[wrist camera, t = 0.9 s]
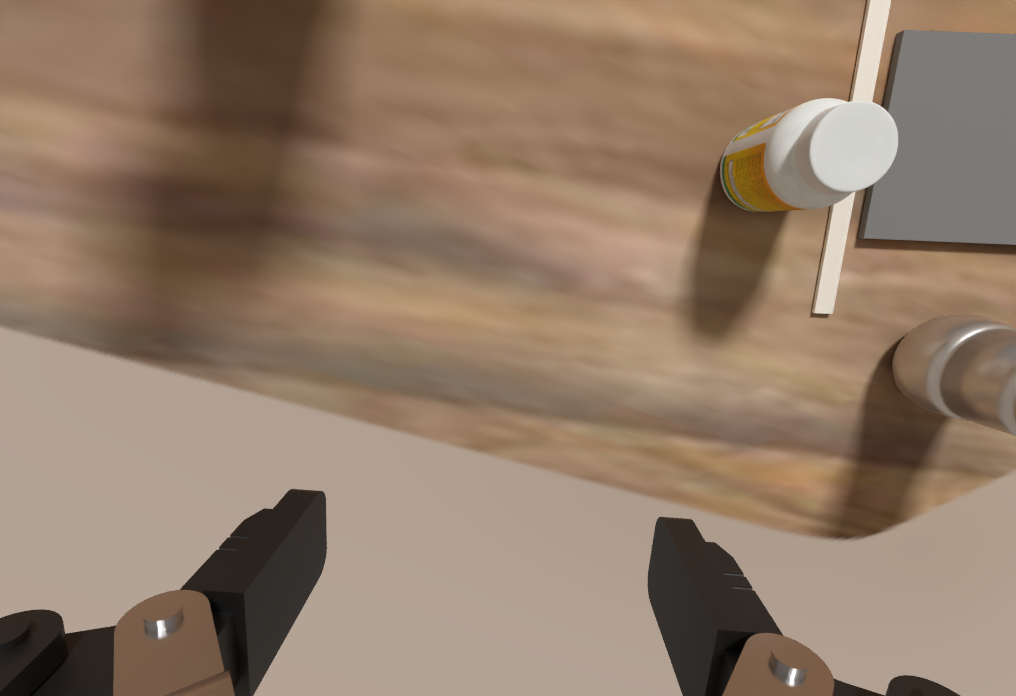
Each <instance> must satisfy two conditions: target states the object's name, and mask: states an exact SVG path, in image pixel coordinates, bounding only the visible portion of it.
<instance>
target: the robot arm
mask: <svg viewBox="0 0 1016 696" xmlns="http://www.w3.org/2000/svg"><path fill="white" fill-rule="evenodd" d="M326 545H327V541H326V497H325V494H324V492H323V491H312V490H297V489H291V490H289V491H288V492H287V493H286V494H285V496H284V497H283V498H282V499H281V500H280V501H279V503H278V504H277V505H276V506H275V507H274V508H273V509H263V510H261V511H259V512H257V513H256V514H254V515H252V516H250V517H249V518H247V519H245V520H244V521H243V522H242V523H241V524H240V525H239V526H238V527H237V528H236V530H235V531H234V532H233V533H232V534H231V536H230V538H227V539H226V540H225V541H224V542H223V543H222V545H221V546H220V547H219V550H216V551H215V552H214V553H213V554H212V555H211V557H210V558H209V559H208V560H207V561H206V562H205V563H204V564H203V565H202V566H201V567H200V568H199V569H198V570H197V572H196V573H195V574H194V575H193V576H192V577H191V578H190V579H189V580H188V581H187V582H186V583H185V585H184V586H183V587H182V588H181V589H180V590H176V591H170V592H166V593H162V594H159V595H156V596H153V597H151V598H149V599H146V600H144V601H143V602H141V603H139V604H137V605H136V606H134V607H133V608H132V609H130V610H129V611H128V612H127V613H126V614H125V615H124V616H123V617H122V618H121V619H120V620H119V622H118V623H117V625H116V626H111V627H105V628H99V629H93V630H86V631H80V632H74V633H67V634H65V631H64V625H63V620H62V617H61V616H60V615H59V614H58V613H56V612H54V611H50V610H30V611H24V612H19V613H15V614H11V615H8V616H5V617H2V618H0V696H253V695H254V693H255V691H256V690H257V688H258V686H259V684H260V682H261V681H262V679H263V677H264V675H265V673H266V672H267V670H268V668H269V666H270V665H271V663H272V661H273V659H274V658H275V656H276V654H277V652H278V650H279V649H280V647H281V645H282V643H283V641H284V639H285V638H286V636H287V634H288V633H289V631H290V629H291V627H292V625H293V624H294V622H295V620H296V618H297V616H298V615H299V613H300V611H301V610H302V608H303V606H304V604H305V602H306V600H307V599H308V597H309V595H310V593H311V592H312V590H313V588H314V586H315V585H316V583H317V581H318V579H319V577H320V575H321V573H322V570H323V567H324V563H325V559H326V550H327V546H326ZM648 593H649V599H650V602H651V606H652V608H653V611H654V614H655V617H656V620H657V623H658V626H659V628H660V631H661V634H662V637H663V640H664V643H665V646H666V648H667V651H668V654H669V657H670V660H671V663H672V666H673V668H674V672H675V674H676V677H677V680H678V683H679V686H680V689H681V692H682V694H683V696H884V695H881V694H878V693H875V692H872V691H869V690H866V689H863V688H859V687H856V686H853V685H850V684H847V683H844V682H841V681H838V680H836V679H834V678H833V676H832V673H831V671H830V670H829V668H828V667H827V665H826V664H825V663H824V662H823V660H822V659H821V658H820V657H819V656H818V655H817V654H815V653H814V652H813V651H811V650H810V649H809V648H807V647H806V646H804V645H803V644H801V643H799V642H797V641H795V640H793V639H791V638H788V637H785V636H783V634H782V633H781V631H780V630H779V628H778V627H777V625H776V623H775V622H774V620H773V619H772V617H771V616H770V614H769V613H768V611H767V609H766V608H765V606H764V605H763V603H762V602H761V600H760V599H759V597H758V595H757V594H756V592H755V591H753V590H752V586H751V585H750V583H749V582H748V580H747V578H746V577H744V576H743V572H742V571H741V569H740V568H739V566H738V564H737V563H736V561H735V560H734V558H733V557H732V556H731V555H730V554H728V553H727V552H726V551H725V550H723V549H722V548H721V547H720V546H719V545H717V544H716V543H714V542H705V540H704V539H703V537H702V536H701V533H700V532H699V530H698V528H697V527H696V525H695V523H694V522H693V520H691V519H681V518H667V517H659V518H658V520H657V522H656V526H655V533H654V538H653V545H652V551H651V558H650V564H649V571H648ZM885 696H960V695H958V694H957V693H955V692H953V691H951V690H950V689H948V688H946V687H944V686H942V685H940V684H938V683H935V682H933V681H930V680H927V679H924V678H920V677H915V676H907V675H904V676H898V677H895V678H893V679H892V680H891V681H890V683H889V686H888V689H887V692H886V695H885Z"/></svg>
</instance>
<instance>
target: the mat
mask: <svg viewBox="0 0 1016 696" xmlns="http://www.w3.org/2000/svg"><path fill="white" fill-rule="evenodd" d="M883 108H884V109H885V110H886V111H887V112H888V113H889V114H890V115H891V117H892V118H893V120H894V122H895V124H896V127H897V131H898V148H897V153H896V156H895V159H894V160H893V163H892V165H891V166H890V168H889V169H888V171H887V172H886V173H885V174H884V176H882V177H881V178H880V179H879V180H878V181H877V182H876V183H874V184H873V185H871V186H869V187H867V192H866V198H865V203H864V208H863V213H862V218H861V224H860V229H859V234H858V238H866V239H890V240H913V241H937V242H961V243H985V244H1009V245H1016V34H997V33H970V32H943V31H916V30H903V31H901V32H900V33H898V34H897V36H896V41H895V46H894V52H893V57H892V62H891V67H890V72H889V78H888V83H887V88H886V93H885V98H884V104H883Z"/></svg>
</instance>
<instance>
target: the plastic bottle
mask: <svg viewBox="0 0 1016 696" xmlns="http://www.w3.org/2000/svg"><path fill="white" fill-rule="evenodd" d="M892 370H893V376H894V381H895V383H896V385H897V387H898V389H899V390H900V391H901V393H902V394H903V395H904V396H906V397H907V398H908V399H910V400H911V401H912V402H914V403H915V404H917V405H918V406H920V407H921V408H923V409H925V410H927V411H929V412H932V413H936V414H939V415H943V416H947V417H951V418H955V419H960V420H966V421H972V422H975V423H978V424H981V425H984V426H987V427H990V428H994V429H997V430H1000V431H1003V432H1006V433H1009V434H1013V435H1016V329H1015V328H1013V327H1011V326H1008V325H1006V324H1004V323H1001V322H998V321H995V320H992V319H989V318H985V317H981V316H972V315H948V316H941V317H937V318H934V319H931V320H929V321H927V322H925V323H923V324H921V325H919V326H918V327H916V328H915V329H913V330H912V331H911V332H909V333H908V334H907V335H906V336H905V337H904V338H903V339H902V341H901V342H900V343H899V345H898V346H897V349H896V351H895V353H894V356H893V360H892Z"/></svg>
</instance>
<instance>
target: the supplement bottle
mask: <svg viewBox="0 0 1016 696" xmlns="http://www.w3.org/2000/svg"><path fill="white" fill-rule="evenodd" d="M897 148H898V131H897V127H896V124H895V122H894V120H893V118H892V117H891V115H890V114H889V113H888V112H887V111H886V110H885V109H884V108H883V107H881V106H880V105H878V104H875V103H873V102H869V101H851V102H846V101H843V100H839V99H832V98H823V99H816V100H812V101H809V102H806V103H803V104H801V105H798V106H796V107H794V108H791V109H789V110H787V111H784V112H782V113H779V114H777V115H775V116H772V117H770V118H768V119H765V120H763V121H761V122H758V123H756V124H754V125H752V126H750V127H748V128H746V129H744V130H743V131H741V132H740V133H739V134H737V135H736V136H735V137H734V138H733V139H732V141H731V142H730V143H729V145H728V146H727V148H726V150H725V152H724V154H723V157H722V160H721V164H720V178H721V183H722V187H723V190H724V192H725V194H726V195H727V197H728V198H729V199H730V200H731V201H732V202H733V203H734V204H735V205H737V206H738V207H740V208H742V209H745V210H748V211H753V212H768V211H788V210H807V209H819V208H824V207H828V206H831V205H833V204H836V203H838V202H840V201H842V200H843V199H845V198H846V197H848V196H849V195H850V194H852V193H853V192H856V191H860V190H863V189H865V188H867V187H869V186H871V185H873V184H874V183H876V182H877V181H878V180H879V179H880V178H881V177H882V176H884V174H885V173H886V172H887V171H888V169H889V168H890V166H891V165H892V163H893V160H894V159H895V156H896V153H897Z"/></svg>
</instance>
